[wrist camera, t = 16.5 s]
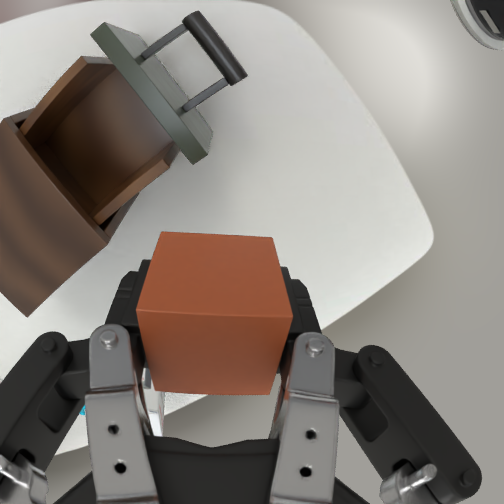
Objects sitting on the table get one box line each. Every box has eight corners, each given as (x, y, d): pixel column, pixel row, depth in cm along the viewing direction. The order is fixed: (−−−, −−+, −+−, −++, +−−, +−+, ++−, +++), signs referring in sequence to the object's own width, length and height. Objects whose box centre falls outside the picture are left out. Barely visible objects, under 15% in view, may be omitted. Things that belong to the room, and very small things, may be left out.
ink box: (169, 372, 43) (162, 439, 33) (138, 367, 43) (127, 433, 33) (167, 337, 39) (157, 413, 29) (132, 332, 38) (115, 407, 28)
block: (160, 230, 11) (135, 309, 7) (272, 236, 11) (294, 316, 8) (167, 312, 13) (154, 391, 10) (258, 316, 14) (269, 395, 10)
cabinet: (64, 99, 21) (3, 118, 13) (139, 192, 28) (107, 244, 19) (-3, 190, 25) (-52, 231, 17) (60, 263, 31) (27, 318, 23)
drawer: (187, 1, 17) (170, -27, 11) (262, 101, 23) (276, 111, 17) (38, 134, 22) (-10, 159, 15) (105, 215, 27) (75, 259, 21)
